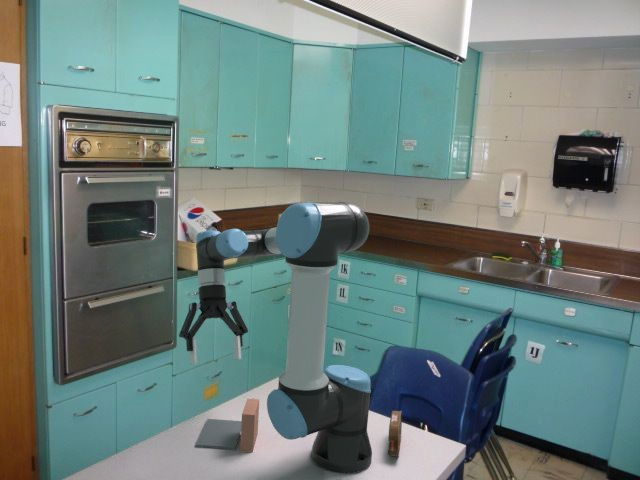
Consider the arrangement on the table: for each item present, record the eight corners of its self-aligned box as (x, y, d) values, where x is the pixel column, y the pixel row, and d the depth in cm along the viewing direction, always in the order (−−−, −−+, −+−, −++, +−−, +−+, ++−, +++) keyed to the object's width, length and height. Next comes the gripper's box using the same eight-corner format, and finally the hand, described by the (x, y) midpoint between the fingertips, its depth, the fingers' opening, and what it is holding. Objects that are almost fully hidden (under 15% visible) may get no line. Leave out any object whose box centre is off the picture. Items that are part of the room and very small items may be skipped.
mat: (243, 423, 159) (243, 421, 159) (235, 449, 145) (235, 447, 145) (207, 420, 159) (207, 418, 159) (195, 446, 145) (195, 444, 145)
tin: (397, 463, 144) (400, 431, 142) (385, 461, 144) (388, 430, 143) (401, 434, 158) (404, 406, 157) (390, 432, 159) (392, 404, 157)
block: (257, 434, 153) (259, 399, 152) (252, 452, 144) (254, 415, 143) (245, 433, 153) (247, 398, 152) (240, 451, 144) (241, 414, 143)
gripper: (243, 286, 173) (248, 358, 169) (164, 287, 158) (168, 365, 154) (256, 283, 168) (261, 357, 164) (176, 283, 152) (179, 365, 148)
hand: (216, 361), depth 159 cm, fingers open, 13 cm apart
